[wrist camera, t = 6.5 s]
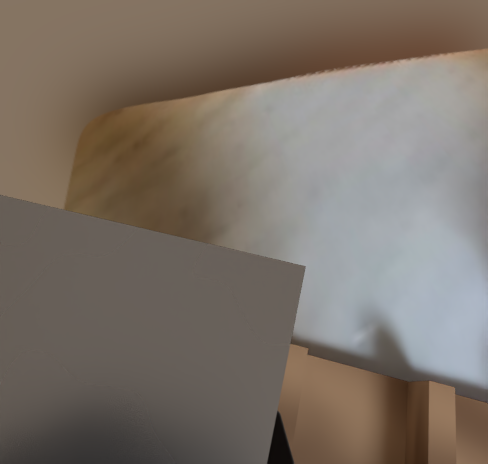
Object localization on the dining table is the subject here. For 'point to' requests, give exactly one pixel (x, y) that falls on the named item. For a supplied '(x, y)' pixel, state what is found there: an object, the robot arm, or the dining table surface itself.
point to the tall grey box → (136, 343)
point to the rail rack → (376, 417)
